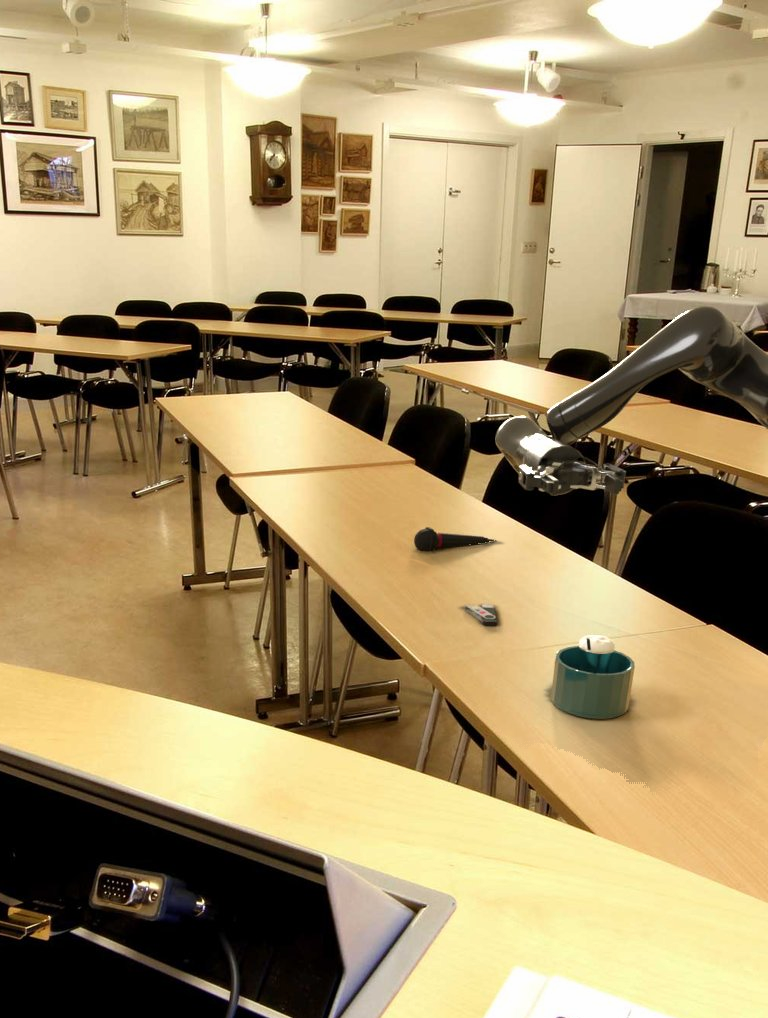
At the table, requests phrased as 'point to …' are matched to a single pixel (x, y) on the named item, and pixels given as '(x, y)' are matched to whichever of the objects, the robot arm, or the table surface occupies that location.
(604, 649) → the milkshake
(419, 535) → the microphone
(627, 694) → the bowl
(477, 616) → the usb flash drive
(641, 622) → the table surface
